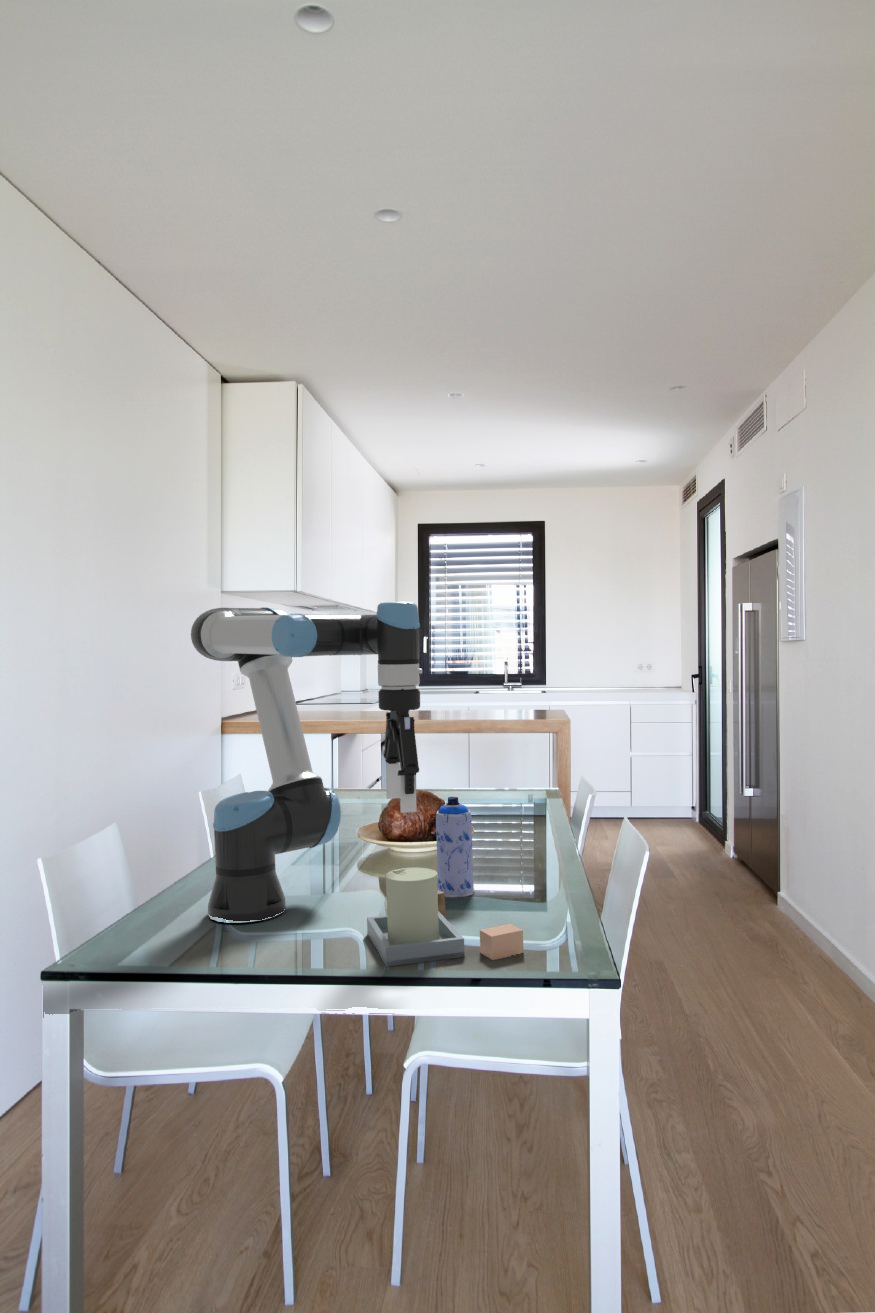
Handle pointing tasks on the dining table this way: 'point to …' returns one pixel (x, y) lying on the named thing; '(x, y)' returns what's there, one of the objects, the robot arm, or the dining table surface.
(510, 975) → the dining table surface
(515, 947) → the soap block
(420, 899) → the can
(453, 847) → the aerosol can
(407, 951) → the tray
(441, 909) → the walnut block
